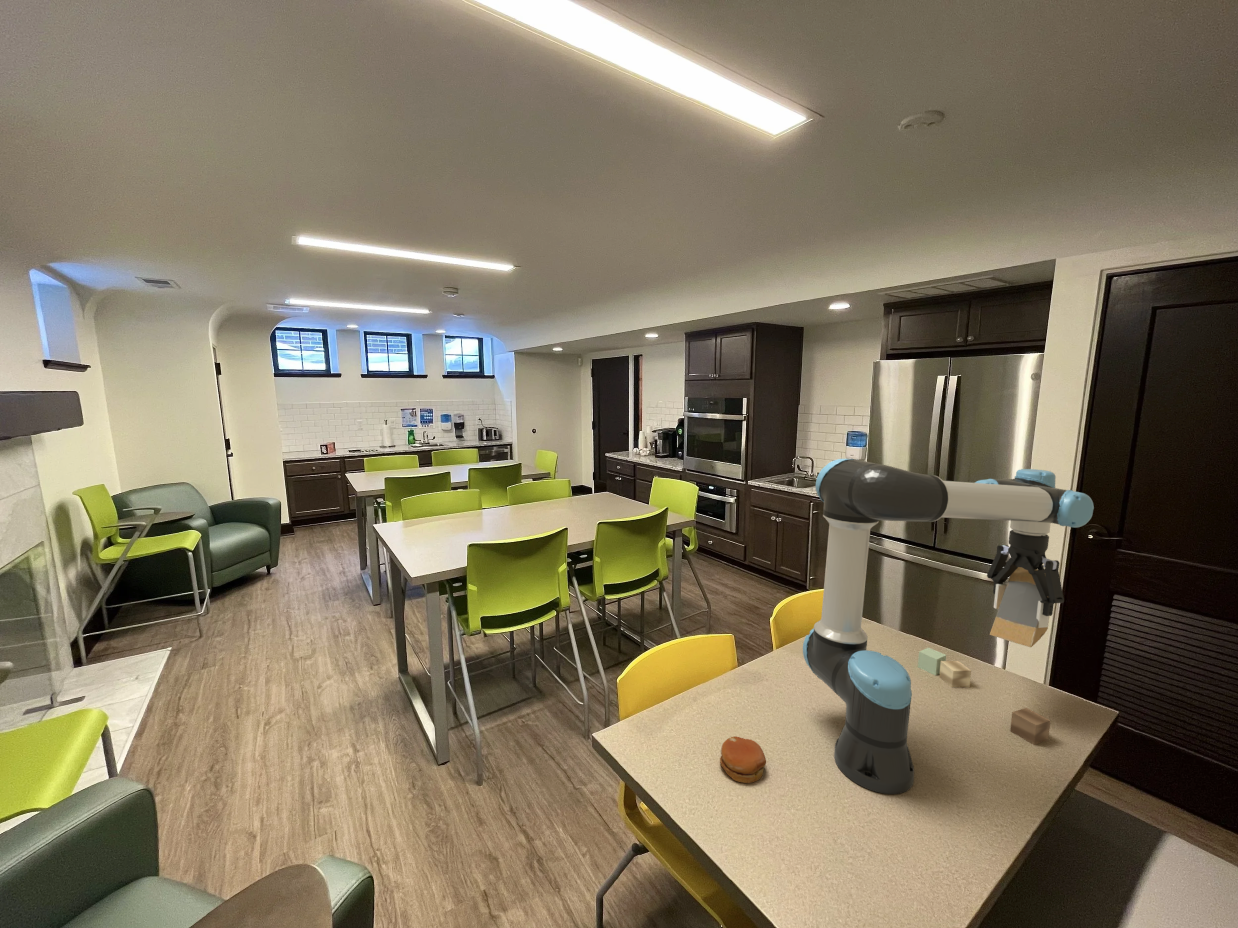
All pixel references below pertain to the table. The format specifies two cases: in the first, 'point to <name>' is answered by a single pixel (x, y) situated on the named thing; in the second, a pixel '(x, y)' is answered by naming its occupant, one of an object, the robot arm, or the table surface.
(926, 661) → the sage cube
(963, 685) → the maple cube
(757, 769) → the burger
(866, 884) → the table surface
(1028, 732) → the walnut cube
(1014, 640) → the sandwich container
